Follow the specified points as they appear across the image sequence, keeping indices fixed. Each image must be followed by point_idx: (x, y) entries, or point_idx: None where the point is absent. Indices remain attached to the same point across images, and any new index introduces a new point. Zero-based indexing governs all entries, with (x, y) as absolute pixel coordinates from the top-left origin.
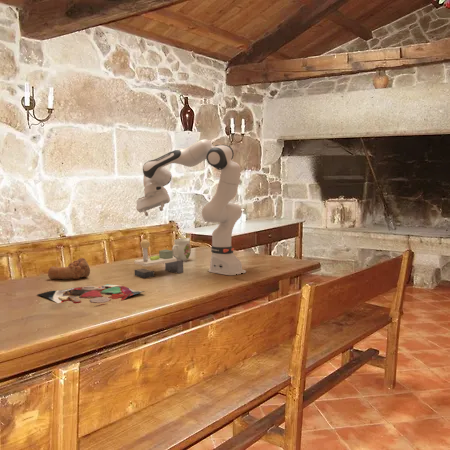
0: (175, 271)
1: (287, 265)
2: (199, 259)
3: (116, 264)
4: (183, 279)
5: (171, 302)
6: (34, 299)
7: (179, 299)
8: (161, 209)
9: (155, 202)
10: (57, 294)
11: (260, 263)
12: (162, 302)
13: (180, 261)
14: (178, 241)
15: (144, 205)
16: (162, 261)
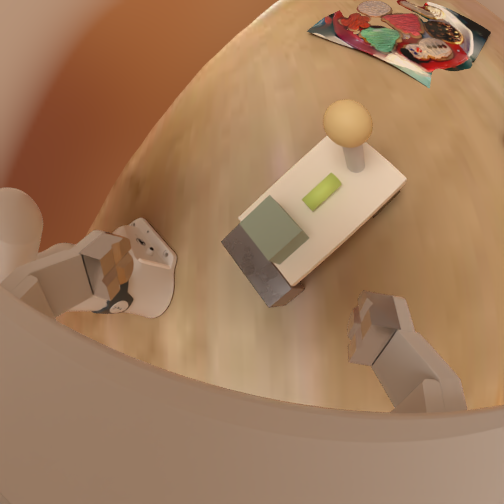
0: None
1: (67, 322)
2: None
3: (485, 387)
4: (240, 155)
5: (257, 22)
6: (474, 17)
7: (246, 34)
8: (107, 234)
9: (52, 341)
10: (462, 27)
11: None
12: (271, 18)
13: (231, 233)
14: None
15: (437, 466)
16: (289, 171)
